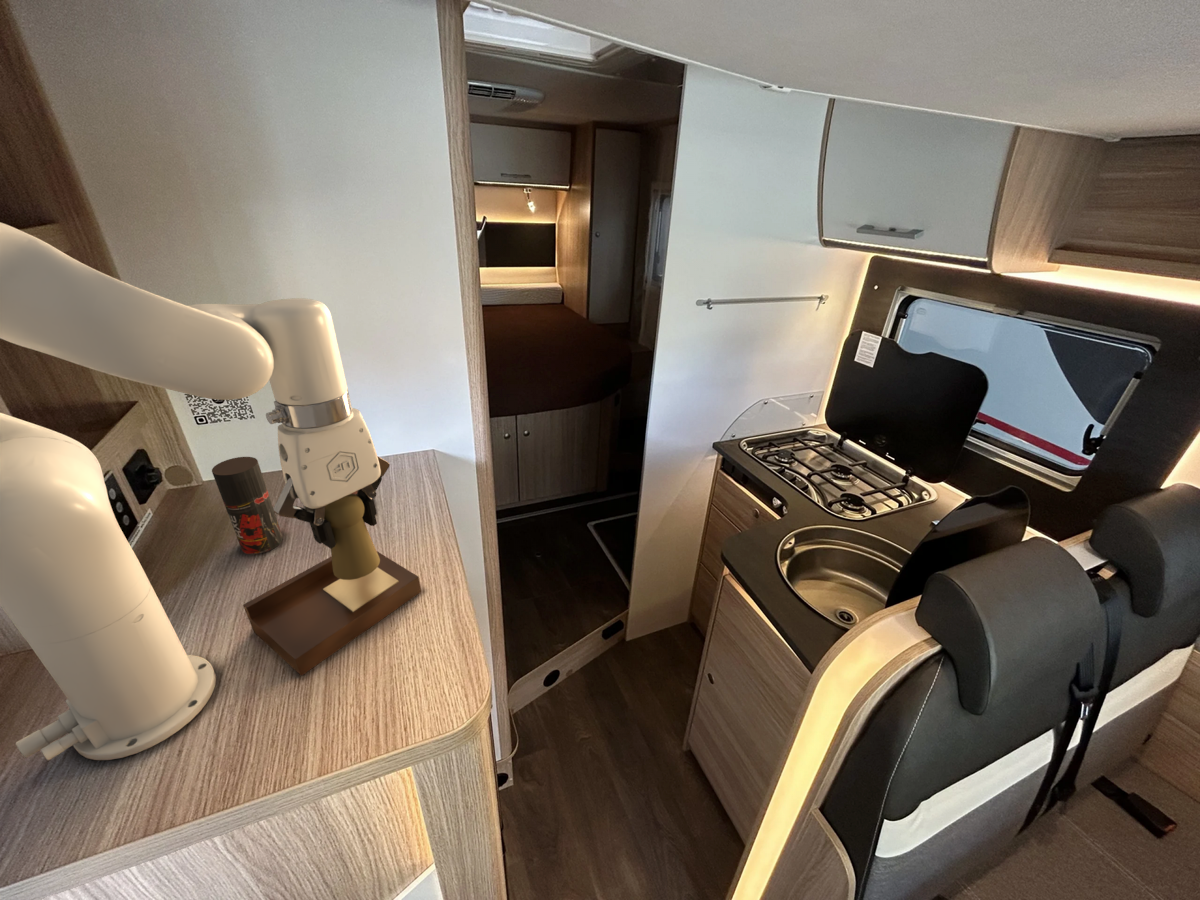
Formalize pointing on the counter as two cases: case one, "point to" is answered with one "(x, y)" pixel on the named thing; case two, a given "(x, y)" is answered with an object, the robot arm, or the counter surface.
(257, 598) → the shelf
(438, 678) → the counter surface
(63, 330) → the robot arm
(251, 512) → the deodorant
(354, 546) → the cork
